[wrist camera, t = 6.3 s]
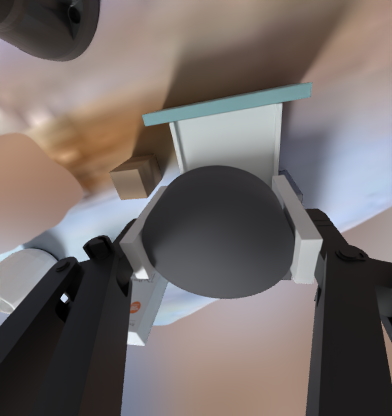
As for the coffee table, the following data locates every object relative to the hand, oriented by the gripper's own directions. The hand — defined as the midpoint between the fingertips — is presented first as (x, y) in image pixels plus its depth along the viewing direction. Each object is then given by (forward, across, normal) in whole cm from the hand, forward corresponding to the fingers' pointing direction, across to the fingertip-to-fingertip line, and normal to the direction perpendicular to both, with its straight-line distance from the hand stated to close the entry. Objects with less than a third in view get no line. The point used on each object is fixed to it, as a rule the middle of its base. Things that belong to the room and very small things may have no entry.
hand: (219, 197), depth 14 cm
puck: (-3, 0, 0) cm, 3 cm away
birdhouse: (+17, 0, -2) cm, 17 cm away
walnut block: (+17, -14, -2) cm, 22 cm away
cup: (+17, -54, -25) cm, 62 cm away
